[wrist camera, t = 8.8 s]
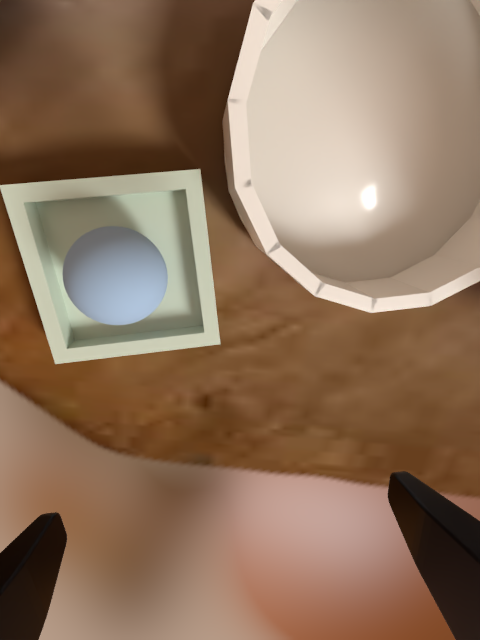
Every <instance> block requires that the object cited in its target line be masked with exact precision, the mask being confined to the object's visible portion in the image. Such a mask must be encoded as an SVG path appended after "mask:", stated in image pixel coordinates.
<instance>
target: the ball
mask: <svg viewBox="0 0 480 640" xmlns="http://www.w3.org/2000/svg"><path fill="white" fill-rule="evenodd" d="M62 274H63V283H64V287H65V290H66V292H67V294H68V296H69V298H70V300H71V301H72V303H73V304H74V305H75V306H76V307H77V308H78V309H79V310H80V311H81V312H82V313H83V314H85V315H86V316H87V317H89V318H91V319H93V320H95V321H97V322H100V323H104V324H108V325H126V324H132V323H135V322H138V321H140V320H142V319H144V318H145V317H147V316H148V315H150V314H151V313H152V312H153V311H154V310H155V309H156V308H157V307H158V306H159V304H160V303H161V301H162V299H163V297H164V295H165V292H166V289H167V283H168V274H167V267H166V264H165V261H164V258H163V256H162V254H161V253H160V251H159V250H158V248H157V247H156V246H155V245H154V244H153V242H151V241H150V240H149V239H148V238H147V237H145V236H144V235H142V234H141V233H139V232H137V231H135V230H132V229H129V228H125V227H119V226H106V227H100V228H97V229H94V230H91V231H89V232H87V233H85V234H84V235H82V236H81V237H80V238H79V239H77V240H76V241H75V242H74V244H73V245H72V246H71V247H70V249H69V251H68V252H67V255H66V257H65V260H64V264H63V273H62Z"/></svg>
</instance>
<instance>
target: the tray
mask: <svg viewBox="0 0 480 640" xmlns="http://www.w3.org/2000/svg"><path fill="white" fill-rule="evenodd" d="M0 189H1V193H2V196H3V199H4V202H5V205H6V208H7V212H8V215H9V218H10V221H11V224H12V228H13V231H14V234H15V237H16V240H17V243H18V247H19V250H20V253H21V256H22V259H23V263H24V266H25V269H26V272H27V275H28V278H29V282H30V285H31V288H32V291H33V294H34V298H35V301H36V304H37V307H38V310H39V313H40V317H41V320H42V323H43V326H44V329H45V333H46V336H47V339H48V342H49V345H50V348H51V352H52V355H53V358H54V361H55V364H60V363H68V362H77V361H85V360H93V359H101V358H110V357H118V356H126V355H135V354H143V353H151V352H159V351H168V350H176V349H184V348H192V347H201V346H209V345H217V344H220V336H219V328H218V319H217V310H216V301H215V293H214V284H213V275H212V267H211V258H210V249H209V240H208V232H207V223H206V214H205V205H204V197H203V188H202V179H201V170H200V169H194V170H181V171H169V172H157V173H144V174H132V175H120V176H107V177H95V178H82V179H70V180H58V181H45V182H33V183H21V184H8V185H0ZM106 226H119V227H125V228H129V229H132V230H135V231H137V232H139V233H141V234H142V235H144V236H145V237H147V238H148V239H149V240H150V241H151V242H153V244H154V245H155V246H156V247H157V248H158V250H159V251H160V253H161V254H162V256H163V258H164V261H165V264H166V267H167V274H168V283H167V289H166V292H165V295H164V297H163V299H162V301H161V303H160V304H159V306H158V307H157V308H156V309H155V310H154V311H153V312H152V313H151V314H150V315H148V316H147V317H145V318H144V319H142V320H140V321H138V322H135V323H132V324H126V325H108V324H104V323H100V322H97V321H95V320H93V319H91V318H89V317H87V316H86V315H85V314H83V313H82V312H81V311H80V310H79V309H78V308H77V307H76V306H75V305H74V304H73V303H72V301H71V300H70V298H69V296H68V294H67V292H66V290H65V287H64V283H63V274H62V273H63V264H64V260H65V257H66V255H67V252H68V251H69V249H70V247H71V246H72V245H73V244H74V242H75V241H76V240H77V239H79V238H80V237H81V236H82V235H84V234H85V233H87V232H89V231H91V230H94V229H97V228H100V227H106Z"/></svg>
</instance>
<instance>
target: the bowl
mask: <svg viewBox="0 0 480 640" xmlns="http://www.w3.org/2000/svg"><path fill="white" fill-rule="evenodd" d="M222 124H223V135H224V162H225V169H226V175H227V182H228V191H229V193H230V195H231V197H232V200H233V202H234V205H235V207H236V210H237V212H238V215H239V217H240V219H241V221H242V223H243V224H244V226H245V228H246V230H247V231H248V233H249V235H250V236H251V238H252V240H253V242H254V244H255V246H256V247H258V248H259V249H260V250H261V251H262V252H263V253H265V254H266V255H267V256H268V257H269V258H270V259H271V260H272V261H274V262H275V263H276V264H277V265H278V266H279V267H281V268H282V269H283V270H284V271H285V272H286V273H288V274H289V275H290V276H291V277H292V278H293V279H294V280H295V281H297V282H298V283H299V284H300V285H302V286H303V287H304V288H305V289H306V290H308V291H309V292H310V293H311V294H313V295H314V296H316V297H320V298H323V299H326V300H330V301H333V302H336V303H340V304H343V305H347V306H350V307H353V308H357V309H360V310H363V311H367V312H370V313H374V312H383V311H391V310H399V309H408V308H416V307H425V306H431V305H433V304H435V303H437V302H439V301H441V300H443V299H445V298H447V297H449V296H451V295H453V294H455V293H457V292H459V291H461V290H463V289H465V288H467V287H469V286H471V285H473V284H475V283H477V282H479V281H480V0H255V1H254V3H253V5H252V9H251V13H250V17H249V21H248V25H247V28H246V32H245V36H244V40H243V43H242V47H241V51H240V55H239V59H238V62H237V66H236V70H235V74H234V78H233V81H232V85H231V89H230V93H229V97H228V100H227V104H226V108H225V113H224V117H223V121H222Z"/></svg>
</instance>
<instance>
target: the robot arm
mask: <svg viewBox="0 0 480 640" xmlns="http://www.w3.org/2000/svg"><path fill="white" fill-rule="evenodd" d="M388 499H389V503H390V506H391V508H392V511H393V513H394V515H395V517H396V520H397V522H398V525H399V527H400V529H401V532H402V534H403V536H404V538H405V541H406V543H407V546H408V548H409V550H410V552H411V555H412V557H413V559H414V562H415V564H416V566H417V568H418V570H419V572H420V574H421V576H422V578H423V579H424V581H425V583H426V585H427V587H428V588H429V591H430V592H431V594H432V596H433V598H434V600H435V602H436V604H437V606H438V607H439V609H440V611H441V613H442V615H443V617H444V619H445V620H446V622H447V624H448V626H449V628H450V630H451V632H452V634H453V635H454V637H455V639H456V640H480V521H479V520H477V519H476V518H474V517H473V516H471V515H470V514H469V513H467V512H466V511H464V510H463V509H461V508H460V507H458V506H457V505H455V504H454V503H452V502H451V501H449V500H448V499H446V498H445V497H444V496H442V495H441V494H439V493H438V492H436V491H435V490H433V489H432V488H430V487H429V486H427V485H426V484H424V483H423V482H421V481H420V480H419V479H417V478H416V477H414V476H413V475H411V474H410V473H408V472H405V471H402V472H394V473H392V474H391V475H390V481H389V489H388ZM66 542H67V534H66V531H65V528H64V525H63V522H62V519H61V516H60V514H59V513H56V512H55V513H47V514H42V515H40V516H39V517H38V518H37V519H36V520H35V521H34V522H33V523H31V524H30V525H29V526H28V527H27V528H26V529H25V530H24V531H23V532H22V533H21V534H20V535H19V536H18V537H17V538H16V539H15V540H13V541H12V542H11V543H10V544H9V545H8V546H7V547H6V548H5V549H4V550H3V551H2V552H1V553H0V640H38V639H39V636H40V634H41V631H42V628H43V625H44V622H45V619H46V617H47V613H48V610H49V607H50V603H51V599H52V595H53V592H54V587H55V584H56V580H57V577H58V573H59V569H60V566H61V562H62V558H63V554H64V550H65V547H66Z"/></svg>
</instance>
